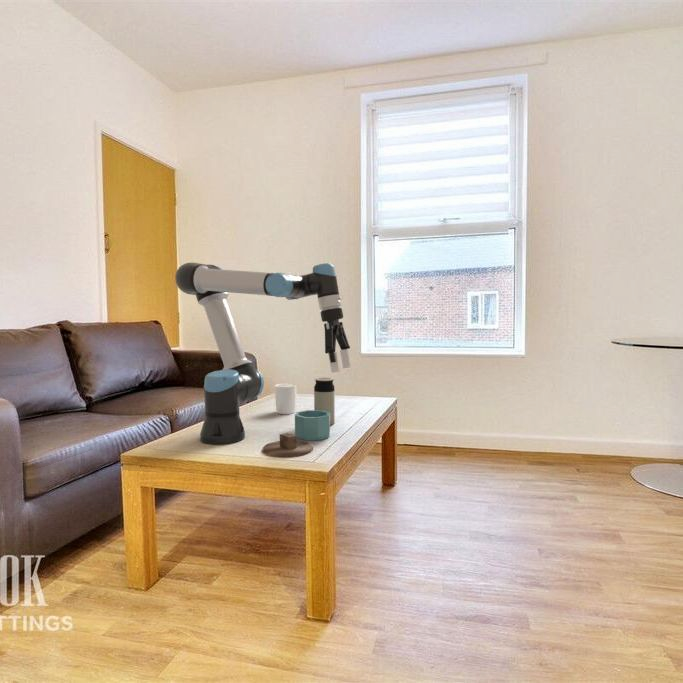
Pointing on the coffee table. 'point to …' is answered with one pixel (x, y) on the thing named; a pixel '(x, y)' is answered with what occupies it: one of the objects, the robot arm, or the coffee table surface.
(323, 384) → the travel mug
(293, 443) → the lid
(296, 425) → the bowl
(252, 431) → the coffee table surface
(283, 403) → the candle holder
